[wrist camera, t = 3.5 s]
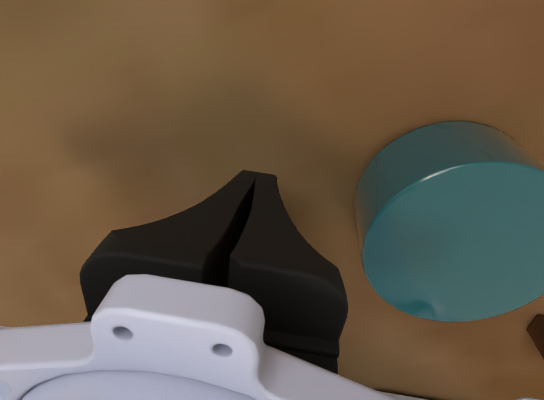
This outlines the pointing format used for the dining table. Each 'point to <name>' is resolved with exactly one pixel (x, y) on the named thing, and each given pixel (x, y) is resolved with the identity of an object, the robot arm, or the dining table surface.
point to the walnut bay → (537, 333)
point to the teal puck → (453, 223)
